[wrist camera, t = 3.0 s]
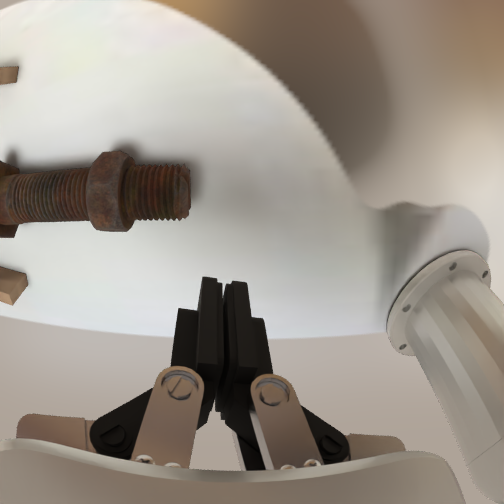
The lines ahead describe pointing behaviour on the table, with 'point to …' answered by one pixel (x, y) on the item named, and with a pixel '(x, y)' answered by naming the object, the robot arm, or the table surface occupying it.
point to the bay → (3, 280)
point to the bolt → (94, 194)
